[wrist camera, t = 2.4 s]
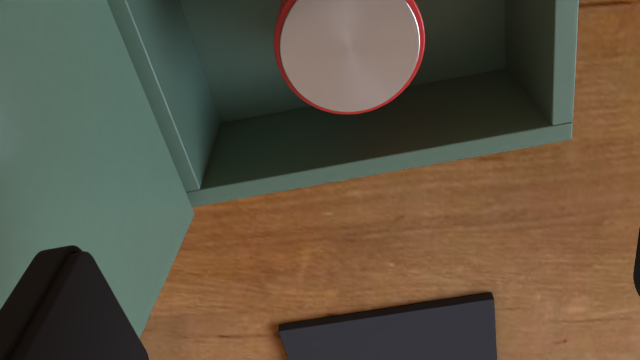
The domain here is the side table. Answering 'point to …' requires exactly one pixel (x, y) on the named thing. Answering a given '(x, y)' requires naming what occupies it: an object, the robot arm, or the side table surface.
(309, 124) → the storage box
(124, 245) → the lid
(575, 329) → the side table surface
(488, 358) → the mat
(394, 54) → the can
